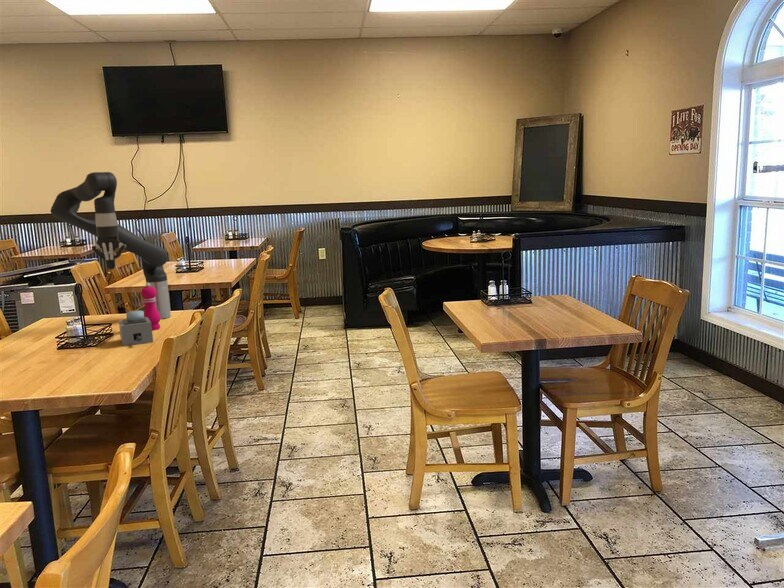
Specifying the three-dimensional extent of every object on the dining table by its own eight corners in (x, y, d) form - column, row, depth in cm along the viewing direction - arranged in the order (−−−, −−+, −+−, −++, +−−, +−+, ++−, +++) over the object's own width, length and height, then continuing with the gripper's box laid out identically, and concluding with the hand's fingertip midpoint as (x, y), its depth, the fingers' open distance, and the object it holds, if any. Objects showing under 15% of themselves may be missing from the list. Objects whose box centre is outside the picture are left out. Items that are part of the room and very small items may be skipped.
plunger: (134, 337, 249) (133, 332, 248) (139, 336, 249) (138, 331, 249) (136, 342, 241) (135, 337, 241) (141, 341, 242) (141, 336, 242)
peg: (130, 338, 254) (127, 311, 251) (147, 337, 255) (144, 310, 253) (127, 342, 248) (124, 314, 245) (145, 341, 249) (142, 313, 247)
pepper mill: (164, 326, 273) (159, 281, 270) (156, 331, 266) (151, 284, 262) (148, 326, 274) (143, 281, 270) (140, 331, 267) (135, 284, 263)
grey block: (120, 339, 253) (118, 319, 252) (149, 336, 258) (147, 315, 256) (123, 346, 244) (120, 324, 242) (153, 342, 249) (150, 320, 247)
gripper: (85, 226, 238) (90, 271, 242) (121, 225, 240) (126, 269, 243) (91, 224, 246) (97, 268, 249) (127, 223, 247) (131, 267, 251)
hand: (111, 269), depth 246 cm, fingers closed
